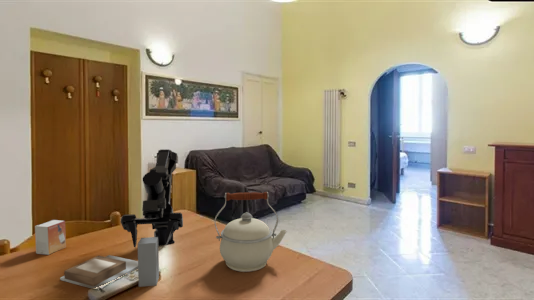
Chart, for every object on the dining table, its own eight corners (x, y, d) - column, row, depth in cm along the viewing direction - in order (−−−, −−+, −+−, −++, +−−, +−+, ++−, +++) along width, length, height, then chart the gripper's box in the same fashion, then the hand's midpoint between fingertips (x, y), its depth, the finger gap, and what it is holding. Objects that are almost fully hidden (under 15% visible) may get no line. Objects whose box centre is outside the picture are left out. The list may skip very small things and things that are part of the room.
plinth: (109, 257, 113) (108, 247, 113) (144, 264, 108) (144, 254, 107) (60, 280, 97) (59, 268, 96) (98, 290, 91) (98, 278, 91)
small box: (48, 255, 114) (47, 227, 114) (35, 254, 116) (34, 225, 115) (66, 247, 122) (65, 220, 121) (54, 245, 123) (53, 219, 123)
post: (142, 278, 98) (141, 237, 97) (158, 277, 99) (158, 236, 98) (138, 286, 93) (137, 243, 92) (156, 285, 94) (155, 242, 93)
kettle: (214, 277, 99) (214, 199, 97) (214, 253, 117) (214, 187, 115) (292, 272, 103) (293, 197, 101) (281, 250, 121) (281, 186, 119)
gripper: (121, 190, 100) (112, 235, 90) (182, 188, 104) (179, 232, 94) (128, 208, 109) (120, 251, 99) (184, 206, 112) (181, 248, 102)
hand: (150, 245), depth 98 cm, fingers open, 9 cm apart
